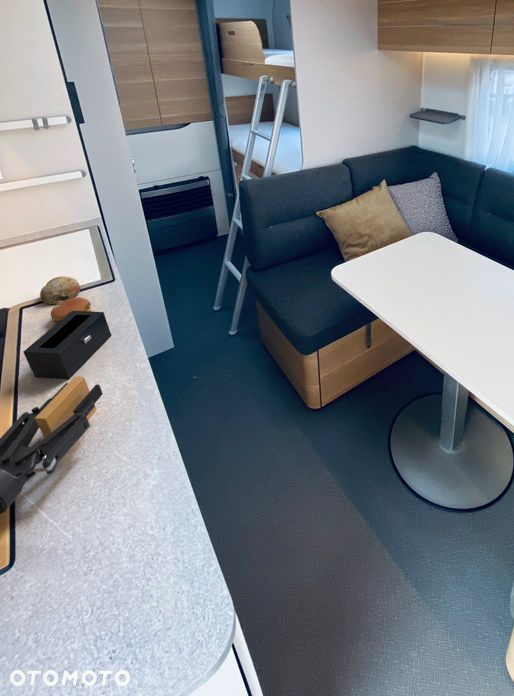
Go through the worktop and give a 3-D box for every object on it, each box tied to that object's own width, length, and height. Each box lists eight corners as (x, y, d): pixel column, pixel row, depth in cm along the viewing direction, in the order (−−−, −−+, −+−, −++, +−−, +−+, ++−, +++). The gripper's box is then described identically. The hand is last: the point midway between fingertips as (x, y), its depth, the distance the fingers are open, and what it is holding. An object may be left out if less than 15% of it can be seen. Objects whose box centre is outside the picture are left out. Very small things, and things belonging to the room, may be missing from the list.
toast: (50, 452, 81) (34, 418, 77) (87, 408, 90) (74, 376, 86) (61, 453, 81) (45, 418, 77) (96, 409, 90) (84, 376, 86)
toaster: (34, 377, 98) (23, 351, 95) (80, 334, 112) (71, 310, 109) (71, 379, 98) (61, 353, 95) (113, 335, 112) (105, 311, 108)
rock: (48, 316, 125) (43, 301, 120) (37, 292, 129) (31, 277, 124) (85, 301, 132) (82, 286, 127) (74, 279, 136) (70, 264, 131)
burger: (87, 323, 116) (83, 310, 114) (49, 332, 113) (43, 318, 112) (96, 303, 125) (91, 291, 123) (60, 311, 122) (55, 298, 120)
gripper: (-63, 514, 69) (49, 398, 90) (42, 523, 67) (130, 403, 88) (-83, 485, 66) (37, 373, 87) (26, 493, 64) (122, 377, 86)
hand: (84, 388), depth 88 cm, fingers open, 6 cm apart
